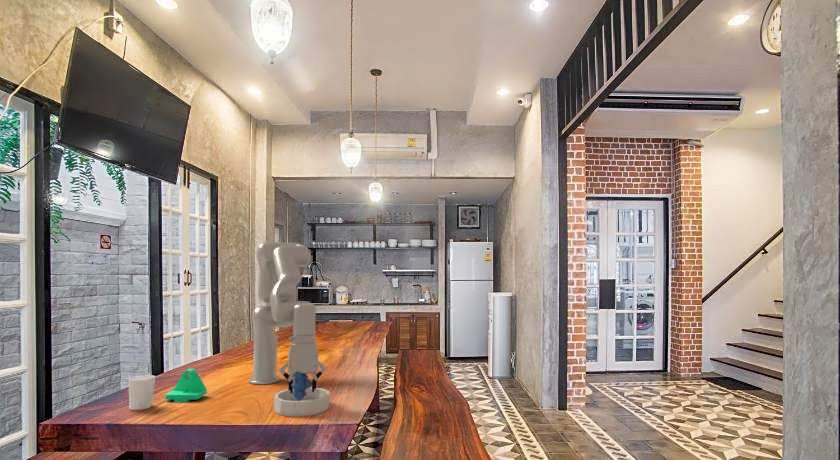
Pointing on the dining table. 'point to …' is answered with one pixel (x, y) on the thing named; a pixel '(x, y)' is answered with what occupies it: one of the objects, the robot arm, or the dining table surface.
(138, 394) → the white cup
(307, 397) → the fruit bowl
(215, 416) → the dining table surface
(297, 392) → the blue gear
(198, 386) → the camera mount
